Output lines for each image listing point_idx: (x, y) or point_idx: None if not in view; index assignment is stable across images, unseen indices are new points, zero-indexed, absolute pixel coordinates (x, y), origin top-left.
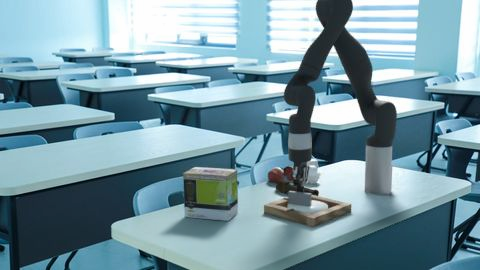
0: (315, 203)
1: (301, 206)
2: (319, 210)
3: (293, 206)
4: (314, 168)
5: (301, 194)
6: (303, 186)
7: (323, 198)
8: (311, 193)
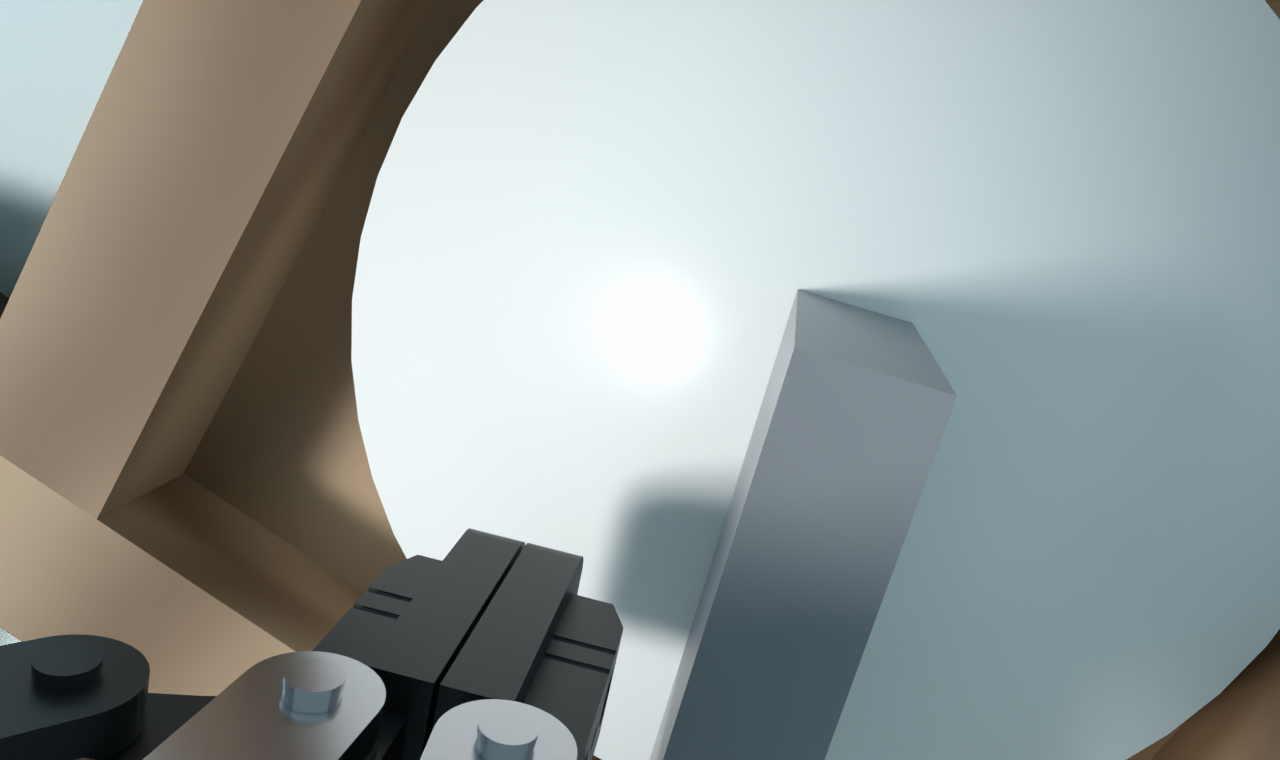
0: (609, 201)
1: (927, 523)
2: (1247, 37)
3: (949, 701)
4: None
5: (855, 661)
6: (487, 704)
7: (221, 22)
8: (802, 353)
